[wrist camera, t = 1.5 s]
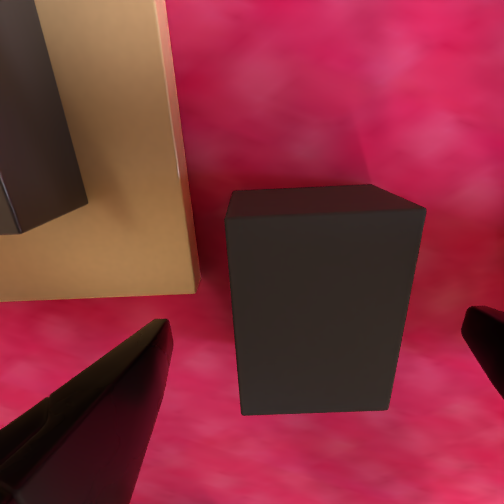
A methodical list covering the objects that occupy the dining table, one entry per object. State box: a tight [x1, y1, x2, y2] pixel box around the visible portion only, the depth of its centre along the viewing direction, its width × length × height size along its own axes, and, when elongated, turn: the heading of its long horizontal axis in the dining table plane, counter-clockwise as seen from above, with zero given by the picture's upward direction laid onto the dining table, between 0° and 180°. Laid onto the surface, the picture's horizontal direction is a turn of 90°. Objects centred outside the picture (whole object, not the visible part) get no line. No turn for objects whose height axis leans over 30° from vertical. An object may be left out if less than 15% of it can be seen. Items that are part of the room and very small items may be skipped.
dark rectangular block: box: [224, 184, 426, 416], centre depth 10 cm, size 7×5×4 cm
